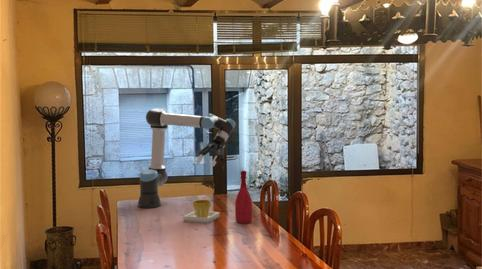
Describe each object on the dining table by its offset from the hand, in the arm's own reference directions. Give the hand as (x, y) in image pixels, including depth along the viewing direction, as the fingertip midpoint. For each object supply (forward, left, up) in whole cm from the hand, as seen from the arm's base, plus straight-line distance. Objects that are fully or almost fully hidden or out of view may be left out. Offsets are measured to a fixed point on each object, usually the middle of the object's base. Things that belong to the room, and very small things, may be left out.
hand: (204, 164), depth 328 cm
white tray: (+8, -22, -30) cm, 38 cm away
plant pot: (+8, -22, -29) cm, 37 cm away
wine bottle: (+34, -20, -30) cm, 49 cm away
